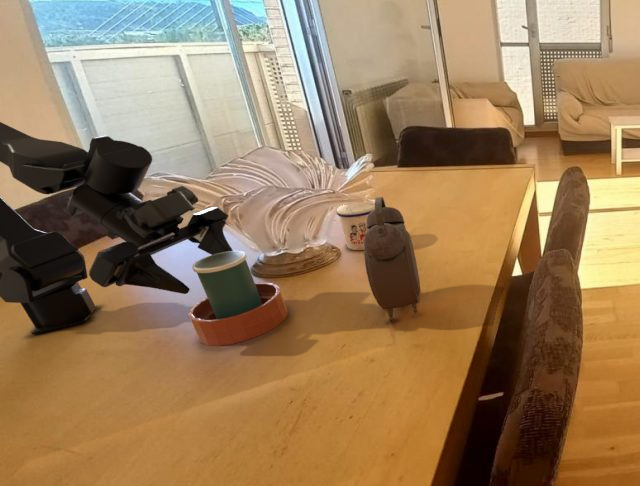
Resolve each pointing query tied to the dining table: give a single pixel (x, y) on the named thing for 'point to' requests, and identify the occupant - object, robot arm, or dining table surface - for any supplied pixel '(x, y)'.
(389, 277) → the alarm clock
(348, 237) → the teacup with lid
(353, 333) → the dining table surface
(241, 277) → the green canister
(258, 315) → the bowl
